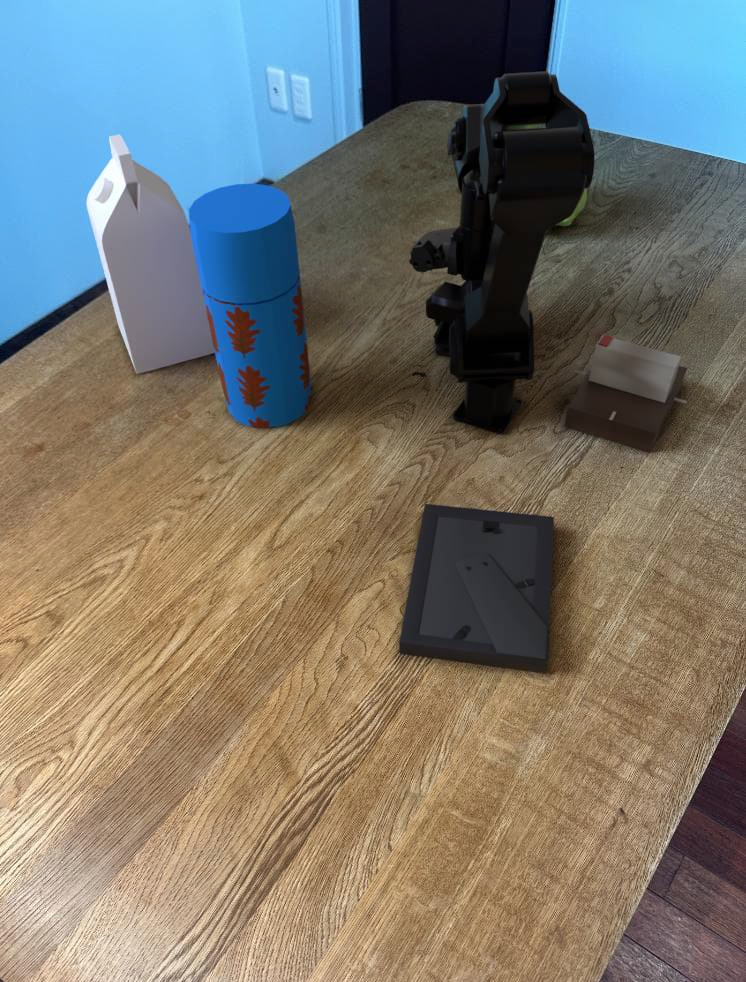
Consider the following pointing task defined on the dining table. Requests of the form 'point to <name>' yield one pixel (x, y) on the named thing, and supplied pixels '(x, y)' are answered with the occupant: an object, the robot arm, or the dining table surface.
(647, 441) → the dark brown pegged box
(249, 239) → the thermos
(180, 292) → the milk
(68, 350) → the dining table surface
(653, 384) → the light gray block
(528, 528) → the picture frame
